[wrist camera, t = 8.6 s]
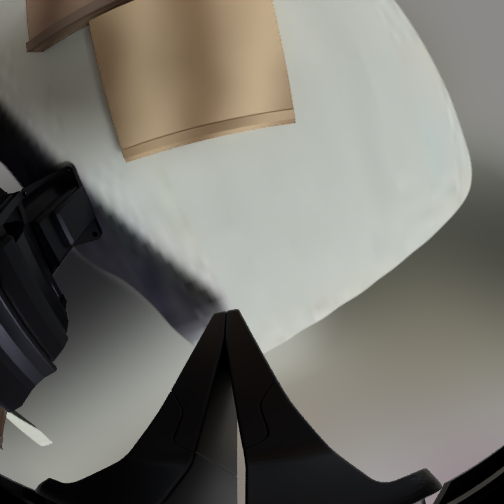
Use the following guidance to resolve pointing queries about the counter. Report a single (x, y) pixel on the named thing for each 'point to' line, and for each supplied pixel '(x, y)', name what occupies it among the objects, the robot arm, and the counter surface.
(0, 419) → the plant pot
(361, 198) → the counter surface
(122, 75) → the tan square board
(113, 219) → the counter surface
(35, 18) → the walnut board
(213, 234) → the counter surface
